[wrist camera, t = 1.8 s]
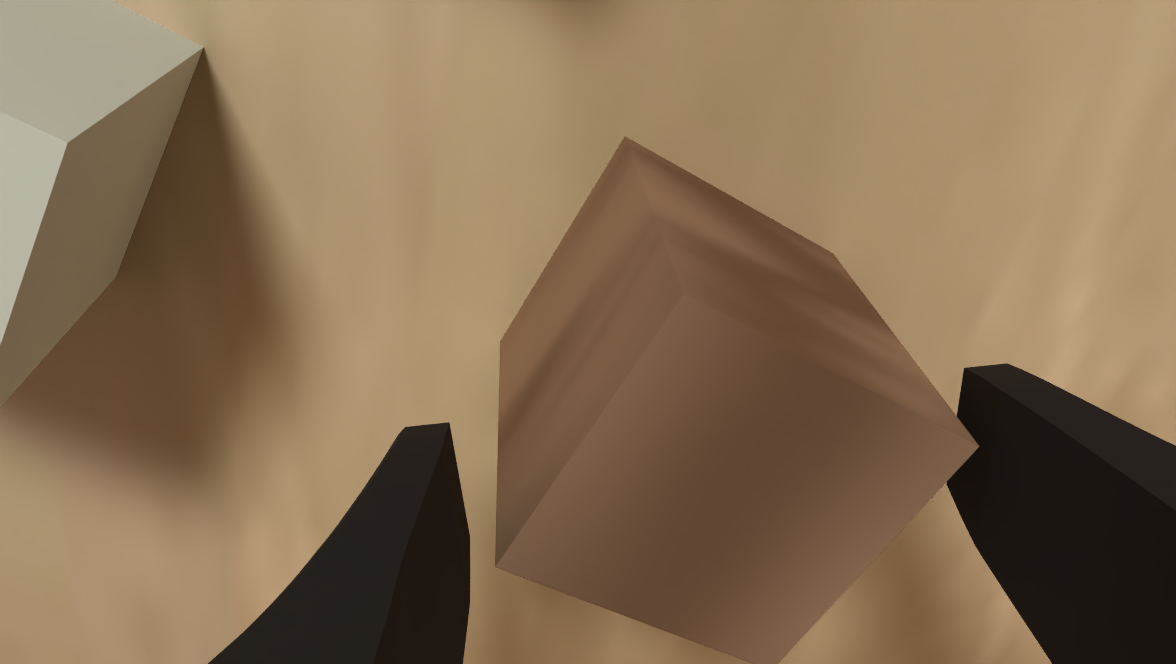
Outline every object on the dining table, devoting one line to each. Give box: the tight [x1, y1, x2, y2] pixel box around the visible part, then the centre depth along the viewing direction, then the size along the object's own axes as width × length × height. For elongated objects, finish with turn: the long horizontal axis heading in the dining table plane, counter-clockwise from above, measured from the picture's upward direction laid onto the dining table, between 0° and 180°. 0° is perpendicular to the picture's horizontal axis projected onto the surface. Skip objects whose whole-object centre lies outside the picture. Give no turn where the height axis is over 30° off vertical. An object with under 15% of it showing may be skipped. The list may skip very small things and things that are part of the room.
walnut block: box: [495, 137, 979, 664], centre depth 14 cm, size 4×4×6 cm
